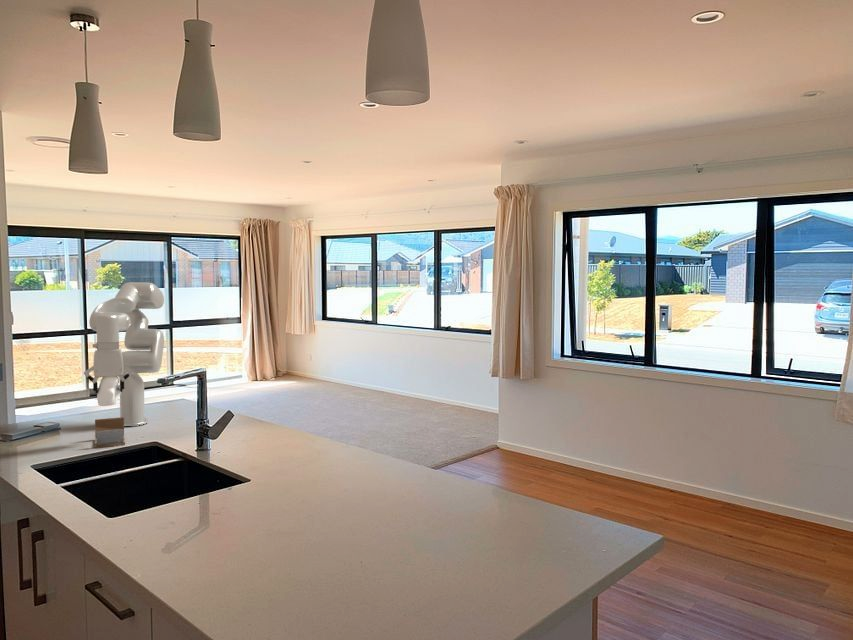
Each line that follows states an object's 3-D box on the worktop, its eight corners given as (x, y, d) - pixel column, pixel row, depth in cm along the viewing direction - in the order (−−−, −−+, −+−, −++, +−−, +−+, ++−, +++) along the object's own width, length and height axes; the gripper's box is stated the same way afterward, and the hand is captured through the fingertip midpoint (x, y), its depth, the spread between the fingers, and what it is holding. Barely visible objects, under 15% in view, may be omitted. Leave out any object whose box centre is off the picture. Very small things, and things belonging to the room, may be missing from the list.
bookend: (96, 442, 234) (96, 429, 234) (123, 440, 238) (123, 427, 238) (96, 445, 230) (96, 432, 230) (123, 442, 235) (123, 429, 234)
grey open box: (95, 439, 242) (95, 419, 241) (123, 436, 246) (123, 417, 246) (95, 448, 230) (94, 426, 230) (125, 445, 235) (124, 424, 234)
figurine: (113, 406, 234) (112, 375, 233) (93, 406, 234) (92, 374, 233) (122, 402, 241) (122, 372, 240) (103, 402, 241) (102, 371, 240)
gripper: (81, 348, 228) (82, 395, 230) (133, 346, 236) (134, 392, 238) (82, 346, 235) (83, 392, 236) (132, 344, 243) (133, 388, 244)
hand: (109, 391), depth 237 cm, fingers closed on figurine, 8 cm apart
